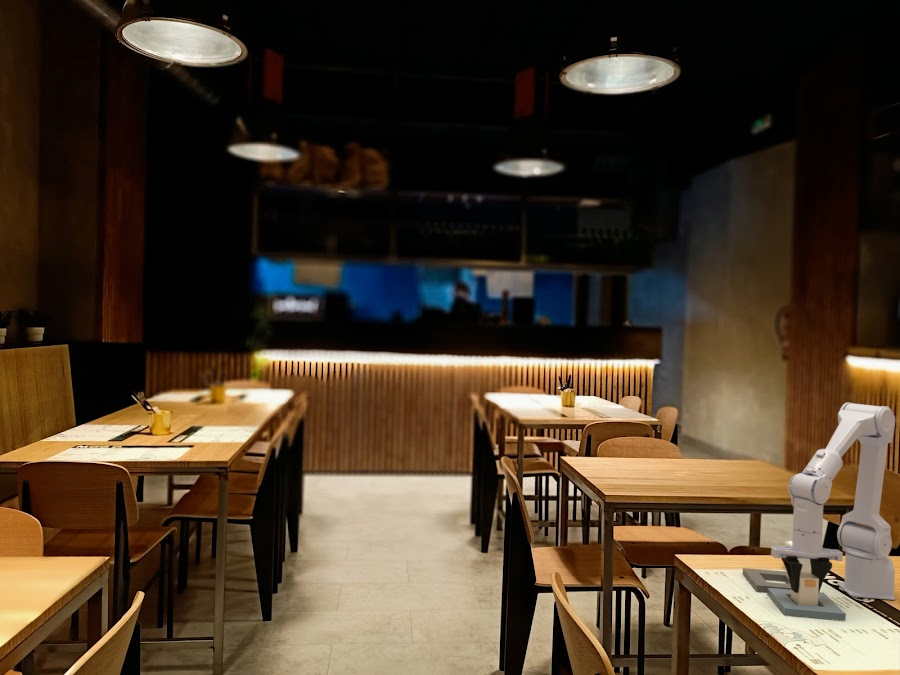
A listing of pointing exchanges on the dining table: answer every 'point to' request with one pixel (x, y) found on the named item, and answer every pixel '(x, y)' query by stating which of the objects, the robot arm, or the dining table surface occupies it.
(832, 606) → the socket
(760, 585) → the socket
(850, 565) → the robot arm
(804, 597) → the plug
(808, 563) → the cream tapered cup
